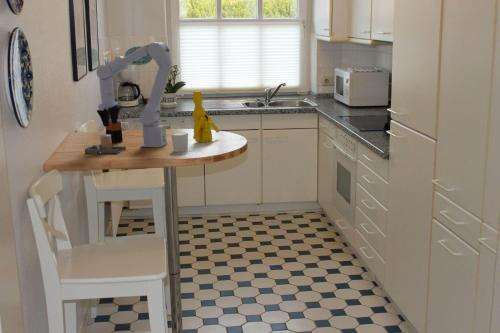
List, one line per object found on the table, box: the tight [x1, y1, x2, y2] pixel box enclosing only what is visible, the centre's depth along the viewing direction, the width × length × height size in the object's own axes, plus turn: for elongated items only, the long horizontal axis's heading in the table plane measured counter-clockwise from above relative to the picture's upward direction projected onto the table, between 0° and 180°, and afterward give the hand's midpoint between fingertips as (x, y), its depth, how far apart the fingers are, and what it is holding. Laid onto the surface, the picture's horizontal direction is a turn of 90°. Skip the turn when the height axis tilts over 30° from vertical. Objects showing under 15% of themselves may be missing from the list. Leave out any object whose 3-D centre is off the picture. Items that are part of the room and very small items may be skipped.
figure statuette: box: [192, 90, 221, 144], centre depth 274 cm, size 18×8×22 cm, turn 145°
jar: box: [99, 133, 113, 150], centre depth 263 cm, size 4×4×7 cm
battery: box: [104, 119, 124, 144], centre depth 285 cm, size 4×7×10 cm, turn 48°
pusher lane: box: [84, 144, 127, 154], centre depth 263 cm, size 15×8×2 cm, turn 75°
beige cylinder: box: [171, 132, 189, 153], centre depth 258 cm, size 7×7×7 cm
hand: (110, 124), depth 273 cm, fingers open, 7 cm apart
